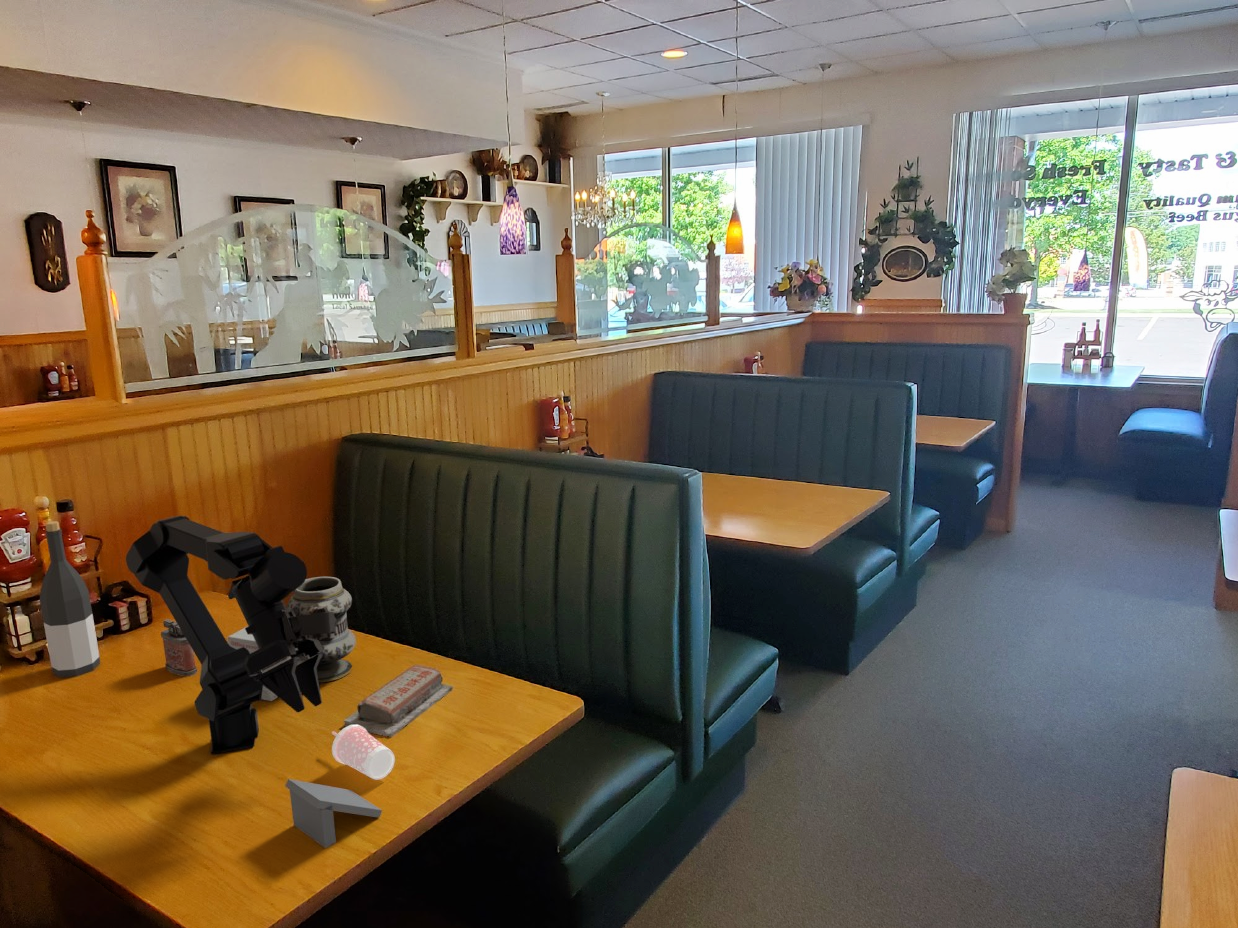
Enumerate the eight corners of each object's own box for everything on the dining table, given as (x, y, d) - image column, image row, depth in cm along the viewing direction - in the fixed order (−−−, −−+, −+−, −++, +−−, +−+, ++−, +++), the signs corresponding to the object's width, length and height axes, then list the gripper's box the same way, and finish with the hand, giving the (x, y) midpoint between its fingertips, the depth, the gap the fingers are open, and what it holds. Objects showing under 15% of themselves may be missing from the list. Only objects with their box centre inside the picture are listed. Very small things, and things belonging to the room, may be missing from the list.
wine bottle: (42, 676, 168) (15, 527, 161) (77, 658, 175) (52, 515, 169) (76, 679, 166) (51, 529, 159) (110, 661, 173) (86, 517, 167)
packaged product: (406, 659, 161) (451, 667, 157) (408, 682, 162) (453, 691, 158) (340, 702, 145) (389, 713, 141) (343, 729, 146) (391, 740, 142)
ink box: (291, 690, 159) (284, 630, 157) (270, 703, 155) (262, 641, 152) (255, 683, 163) (247, 624, 160) (233, 695, 158) (226, 635, 155)
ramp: (350, 794, 126) (346, 750, 125) (382, 815, 121) (378, 769, 120) (289, 826, 119) (284, 780, 118) (321, 850, 114) (316, 802, 113)
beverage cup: (380, 791, 129) (331, 758, 139) (406, 756, 132) (357, 725, 141) (355, 772, 126) (307, 739, 135) (383, 736, 128) (334, 706, 138)
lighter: (201, 671, 168) (195, 622, 166) (185, 677, 165) (178, 629, 163) (178, 661, 172) (171, 615, 170) (161, 668, 170) (154, 620, 167)
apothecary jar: (358, 680, 162) (349, 590, 159) (290, 690, 159) (279, 598, 155) (358, 654, 174) (350, 569, 170) (294, 663, 171) (285, 576, 167)
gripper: (297, 584, 121) (346, 685, 119) (331, 589, 139) (373, 676, 137) (222, 622, 119) (270, 725, 117) (266, 622, 138) (308, 711, 136)
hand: (310, 707), depth 127 cm, fingers open, 9 cm apart
